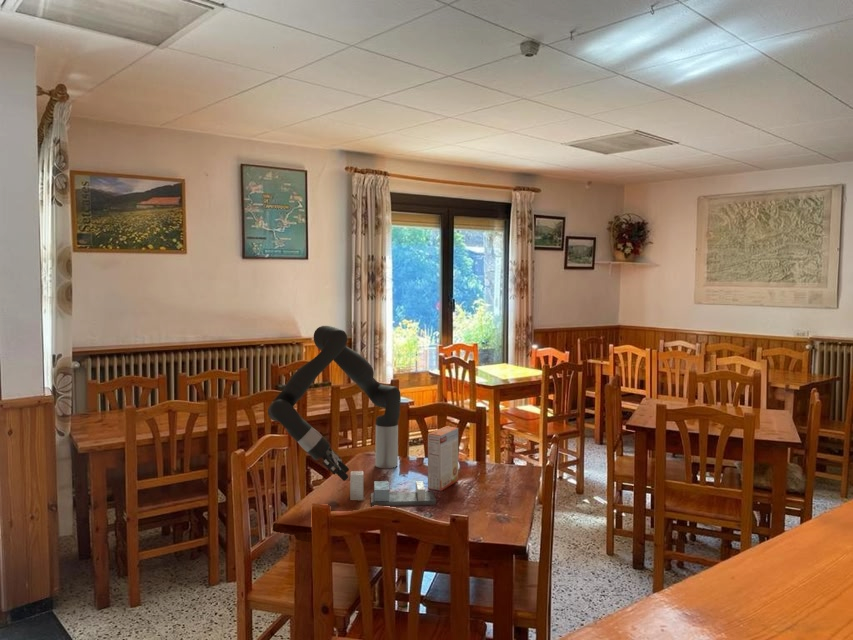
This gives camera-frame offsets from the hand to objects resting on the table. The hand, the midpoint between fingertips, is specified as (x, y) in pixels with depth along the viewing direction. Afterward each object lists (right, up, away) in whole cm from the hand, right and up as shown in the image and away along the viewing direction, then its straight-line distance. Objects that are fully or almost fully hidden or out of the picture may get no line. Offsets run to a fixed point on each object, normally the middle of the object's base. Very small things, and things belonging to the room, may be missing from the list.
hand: (347, 475), depth 221 cm
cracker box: (+34, -8, +16) cm, 38 cm away
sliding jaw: (+12, -7, -2) cm, 14 cm away
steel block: (+3, -8, +1) cm, 9 cm away
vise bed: (+20, -9, -1) cm, 22 cm away
